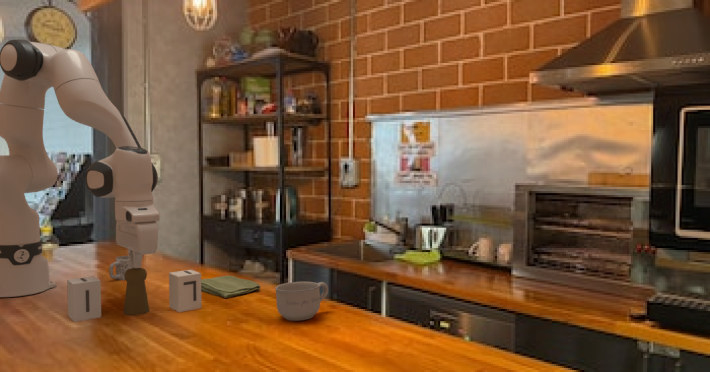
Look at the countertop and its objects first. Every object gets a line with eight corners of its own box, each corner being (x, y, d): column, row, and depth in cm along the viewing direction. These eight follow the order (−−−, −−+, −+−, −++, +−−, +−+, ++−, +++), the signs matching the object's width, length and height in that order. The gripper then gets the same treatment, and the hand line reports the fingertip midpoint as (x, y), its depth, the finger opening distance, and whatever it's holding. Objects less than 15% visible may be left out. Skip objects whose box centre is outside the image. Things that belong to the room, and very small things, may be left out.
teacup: (284, 327, 125) (284, 292, 124) (269, 314, 134) (269, 282, 134) (339, 318, 131) (339, 285, 131) (321, 307, 141) (321, 276, 140)
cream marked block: (169, 307, 141) (168, 272, 140) (191, 303, 145) (191, 269, 144) (178, 312, 136) (178, 276, 135) (201, 308, 140) (201, 272, 139)
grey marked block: (68, 316, 133) (66, 279, 132) (94, 311, 137) (93, 275, 136) (74, 322, 128) (73, 283, 127) (101, 317, 132) (100, 279, 131)
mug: (128, 274, 179) (127, 254, 178) (143, 276, 176) (142, 256, 175) (102, 281, 170) (101, 260, 169) (117, 283, 167) (117, 261, 166)
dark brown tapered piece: (140, 316, 133) (139, 271, 132) (118, 314, 134) (117, 270, 133) (154, 309, 139) (153, 266, 138) (132, 307, 140) (132, 265, 139)
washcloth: (226, 301, 148) (225, 289, 148) (190, 290, 160) (190, 279, 160) (264, 292, 158) (263, 281, 158) (228, 282, 170) (227, 272, 170)
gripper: (108, 209, 141) (110, 262, 142) (135, 216, 125) (136, 275, 126) (133, 208, 145) (135, 259, 146) (162, 214, 129) (163, 272, 130)
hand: (136, 267), depth 136 cm, fingers closed
